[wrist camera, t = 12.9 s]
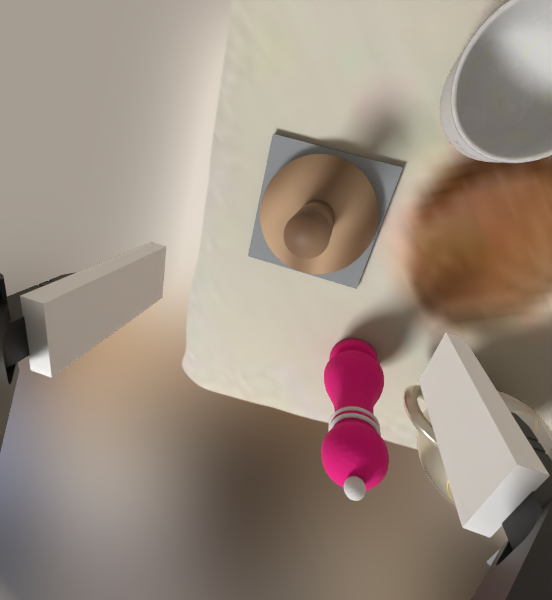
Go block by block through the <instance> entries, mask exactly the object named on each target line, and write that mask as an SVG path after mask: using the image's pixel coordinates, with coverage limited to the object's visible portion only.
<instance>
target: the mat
mask: <svg viewBox="0 0 552 600" xmlns="http://www.w3.org/2000/svg"><path fill="white" fill-rule="evenodd" d="M311 154H329V155H334V156H338V157H340V158H343V159H345V160H347V161H349V162H351V163H352V164H354V165H355V166H356V167H358V168H359V169H360V170H361V171H362V172H363V173H364V175H365V176H366V177H367V179H368V180H369V182H370V183H371V185H372V187H373V189H374V192H375V195H376V199H377V203H378V222H377V228H376V231H375V234H374V237H373V239H372V241H371V243H370V244H369V246H368V248H367V249H366V250H365V252H364V253H363V254H362V255H361V256H360V257H359V258H358V259H357V260H356V261H354V262H353V263H352V264H350V265H349V266H347V267H345V268H343V269H341V270H338V271H336V272H332V273H327V274H309V273H306V274H309V275H313V276H316V277H319V278H323V279H326V280H329V281H333V282H336V283H339V284H343V285H346V286H349V287H353V288H356V289H357V286H358V284H359V281H360V279H361V276H362V273H363V271H364V268H365V266H366V263H367V260H368V258H369V255H370V253H371V250H372V247H373V245H374V242H375V240H376V237H377V234H378V232H379V229H380V227H381V224H382V221H383V219H384V216H385V213H386V211H387V208H388V206H389V203H390V200H391V198H392V195H393V193H394V190H395V187H396V185H397V182H398V180H399V177H400V174H401V172H402V169H403V167H399V166H395V165H391V164H387V163H384V162H380V161H376V160H372V159H368V158H364V157H361V156H357V155H353V154H349V153H345V152H341V151H337V150H334V149H330V148H326V147H322V146H318V145H314V144H311V143H307V142H303V141H299V140H295V139H291V138H288V137H284V136H280V135H276V134H273V136H272V141H271V146H270V151H269V156H268V161H267V166H266V171H265V176H264V181H263V185H262V190H261V195H260V200H259V205H258V210H257V215H256V220H255V225H254V230H253V235H252V240H251V245H250V249H249V254H248V256H250V257H253V258H256V259H260V260H263V261H266V262H270V263H273V264H276V265H279V266H283V267H286V268H289V269H293V268H291V267H289V266H287V265H286V264H285V263H283V262H282V261H281V260H280V259H279V258H277V257H276V255H275V254H274V253H273V252H272V251H271V249H270V248H269V246H268V244H267V242H266V240H265V238H264V235H263V233H262V229H261V223H260V207H261V201H262V198H263V194H264V192H265V190H266V187H267V186H268V184H269V182H270V181H271V179H272V178H273V177H274V175H275V174H276V173H277V172H278V171H279V170H280V169H281V168H282V167H284V166H285V165H286V164H288V163H290V162H291V161H293V160H295V159H297V158H300V157H303V156H307V155H311ZM293 270H295V269H293ZM296 271H298V270H296ZM299 272H300V271H299ZM303 273H304V272H303Z"/></svg>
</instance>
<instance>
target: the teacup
mask: <svg viewBox="0 0 552 600" xmlns="http://www.w3.org/2000/svg"><path fill="white" fill-rule="evenodd" d="M440 118H441V124H442V128H443V131H444V133H445V135H446V137H447V139H448V140H449V142H450V143H451V144H452V145H453V147H454V148H455V149H457V150H458V151H459V152H460V153H462V154H464V155H466V156H468V157H470V158H473V159H475V160H480V161H486V162H504V163H522V162H530V161H534V160H539V159H542V158H545V157H548V156H550V155H552V0H509V1H508V2H506V3H505V4H503V5H502V6H501V7H500V8H498V9H497V10H496V11H495V12H494V13H493V14H492V15H491V16H490V17H488V18H487V19H486V20H485V22H484V23H483V24H482V25H481V26H480V27H479V29H478V30H477V31H476V33H475V34H474V35H473V37H472V38H471V39H470V41H469V43H468V44H467V46H466V48H465V49H464V51H463V52H462V54H461V55H460V56H459V58H458V59H457V61H456V63H455V64H454V66H453V68H452V69H451V71H450V73H449V75H448V77H447V80H446V83H445V85H444V88H443V92H442V96H441V102H440Z"/></svg>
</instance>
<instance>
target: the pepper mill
mask: <svg viewBox="0 0 552 600" xmlns="http://www.w3.org/2000/svg"><path fill="white" fill-rule="evenodd" d="M324 383H325V387H326V391H327V393H328V395H329V397H330V399H331V401H332V403H333V405H334V408H335V412H334V413H333V414H332V416H331V418H330V420H329V432H328V433H327V435H326V436H325V438H324V440H323V444H322V452H321V453H322V454H321V456H322V462H323V465H324V468H325V470H326V472H327V474H328V475H329V477H330V478H331V479H332V480H333V481H334V482H335V483H337V484H338V485H339V486H342V487H343V488H344V491H345V493H346V495H347V496H348V498H350V499H351V500H355V501H358V500H361V499H362V498H363V497H364V495H365V492H366V490H369V489H371V488H374V487H376V486H377V485H378V484H379V483H380V482H381V481H382V480H383V478H384V477H385V475H386V473H387V470H388V463H389V456H388V450H387V447H386V444H385V442H384V440H383V439H382V438H381V434H380V425H379V422H378V420H377V418H376V417H375V416H374V415H373V407H374V405H375V404H376V402H377V401H378V399H379V398H380V396H381V393H382V390H383V387H384V375H383V371H382V368H381V366H380V364H379V363H378V361H377V355H376V352H375V350H374V349H373V348H372V347H371V346H370V345H369V344H368V343H366V342H364V341H362V340H358V339H347V340H343V341H341V342H339V343H338V344H336V345H335V346H334V347H333V349H332V351H331V353H330V360H329V362H328V363H327V365H326V368H325V371H324Z"/></svg>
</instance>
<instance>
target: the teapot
mask: <svg viewBox="0 0 552 600" xmlns="http://www.w3.org/2000/svg"><path fill="white" fill-rule="evenodd" d="M497 392H498V393H499V395H500V396H501V398H502V400H503V401H504V403H505V404H506V406H507V408H508V409H509V411H510V412H513V413H516V414H517V415H518V416H519V417H520V418H521V419H522V420H523V421H524V422H525V423H526V424H527V425H528V426H529V427H530V428H531V430H532V431H533V433H534V434H535V436H536V437H537V439H538V442H539V443H541V445H542V446H543V448H544V449H545V451H546V452H545V454H548V456H549V457H550V459H551V460H552V430H551V429H550V427H549V426H548V425H547V424H546V422H545V421H544V420H543V419H542V418H541V417H540V416H539V415H538V414H537V413H536V412H535V411H534V410H532V409H531V408H530V407H529V406H527V405H526V404H524V403H523V402H521V401H520V400H518V399H516V398H514V397H512V396H510V395H508V394H505V393H503V392H500V391H497ZM417 397H418V398H421V399H424V397H423V393H422V390H421V387H420V385H413V386H409V387H408V388H407V389H406V390H405V393H404V398H403V401H404V407H405V410H406V413H407V415H408V417H409V418H410V420H411V422H412V423H413V425H414V426H415V427H416V429H417V430H418V432H417V446H418V452H419V457H420V460H421V463H422V465H423V468H424V470H425V472H426V474H427V476H428V477H429V479H430V480H431V482H432V483H433V485H434V486H435V487H436V488H437V490H438V491H439V492H440V493H441V494H442V495H443V496H444V497H445V498H446V499H447V500H448V501H450V502H451V503H452V504H454V505H455V506H456V504H455V501H454V498H453V494H452V491H451V488H450V484H449V481H448V477H447V474H446V471H445V467H444V464H443V461H442V457H441V454H440V451H439V447H438V444H437V440H436V437H435V434H434V430H433V427H432V424H431V420H430V417H429V414H428V410H427V409H426V410H425V412H424V414H423V413H422V411H421V410H420V408H419V405H418V402H417Z"/></svg>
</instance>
